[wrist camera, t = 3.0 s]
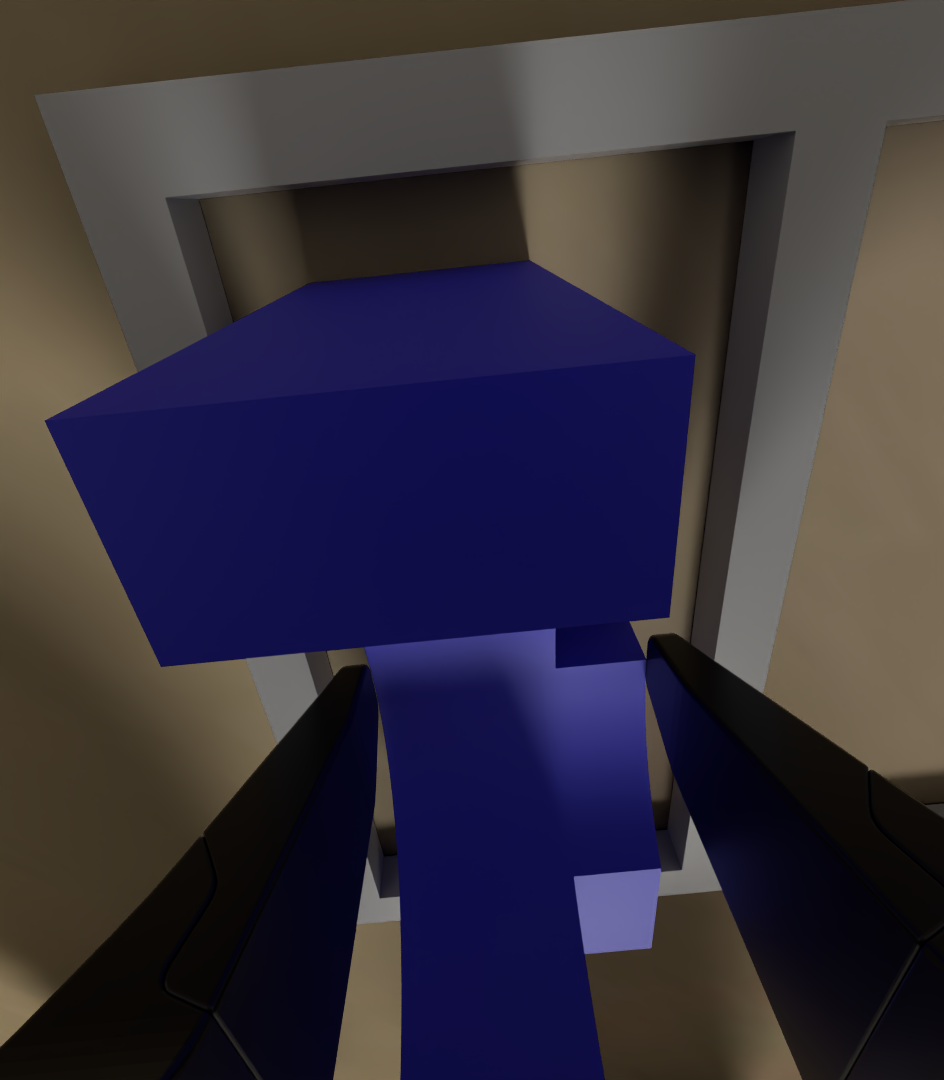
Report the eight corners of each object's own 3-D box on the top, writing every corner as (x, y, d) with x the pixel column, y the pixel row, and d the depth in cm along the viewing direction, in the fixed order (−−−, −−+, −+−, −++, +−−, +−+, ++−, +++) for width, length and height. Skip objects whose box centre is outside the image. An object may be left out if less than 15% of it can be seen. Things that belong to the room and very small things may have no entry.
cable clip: (612, 809, 14) (714, 1172, 9) (424, 826, 14) (412, 1198, 9) (639, 247, 8) (1026, 321, 3) (310, 282, 8) (44, 420, 3)
